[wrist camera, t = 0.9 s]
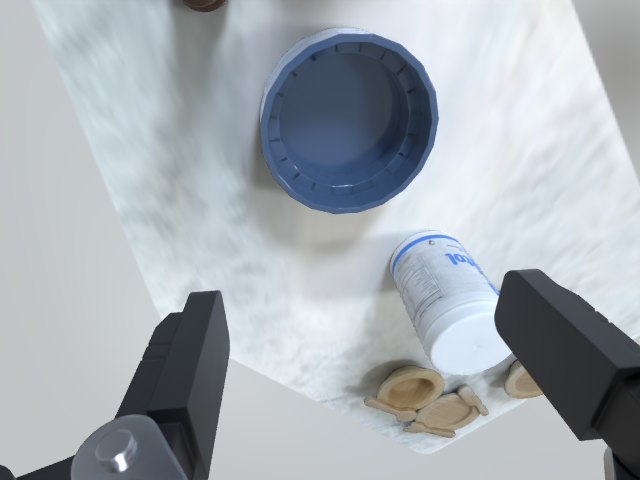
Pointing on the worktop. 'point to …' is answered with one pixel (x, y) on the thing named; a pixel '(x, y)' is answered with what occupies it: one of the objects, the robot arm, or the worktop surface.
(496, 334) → the supplement tub
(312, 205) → the bowl
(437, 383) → the tableware set
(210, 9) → the muddler
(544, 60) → the worktop surface
